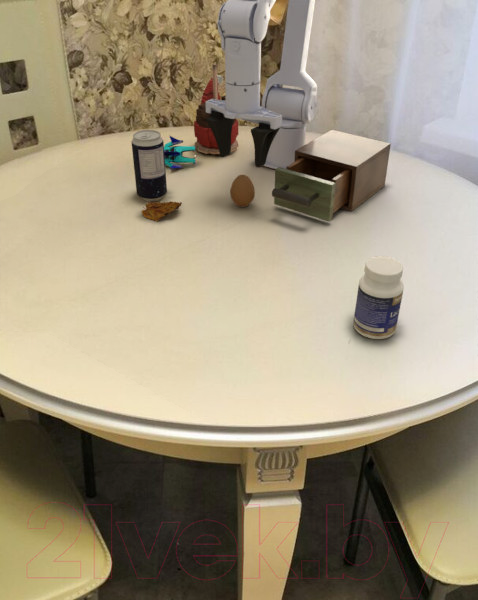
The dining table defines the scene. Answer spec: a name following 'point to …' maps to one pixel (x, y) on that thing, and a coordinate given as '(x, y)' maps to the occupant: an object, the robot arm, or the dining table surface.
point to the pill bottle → (379, 298)
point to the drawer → (312, 187)
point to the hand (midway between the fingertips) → (242, 160)
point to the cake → (201, 128)
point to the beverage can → (149, 165)
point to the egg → (242, 191)
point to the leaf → (159, 209)
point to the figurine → (177, 153)
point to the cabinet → (352, 161)
